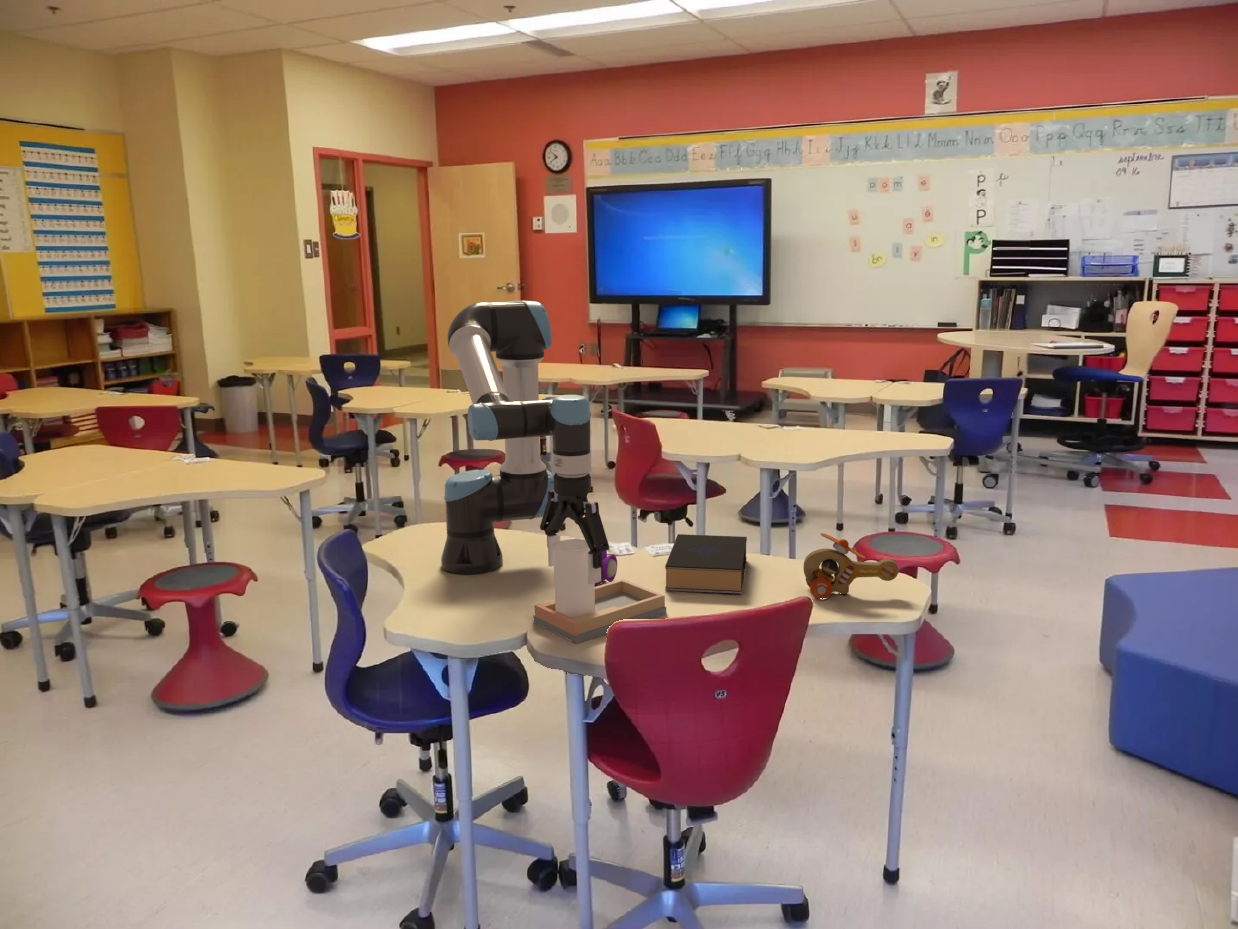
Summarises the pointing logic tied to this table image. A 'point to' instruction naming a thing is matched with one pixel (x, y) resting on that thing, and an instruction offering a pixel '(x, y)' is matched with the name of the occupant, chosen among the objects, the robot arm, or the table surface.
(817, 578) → the toy helicopter
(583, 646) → the table surface
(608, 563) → the toy camera
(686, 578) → the book
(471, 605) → the table surface
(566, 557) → the cup
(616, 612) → the board
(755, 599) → the table surface
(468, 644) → the table surface
